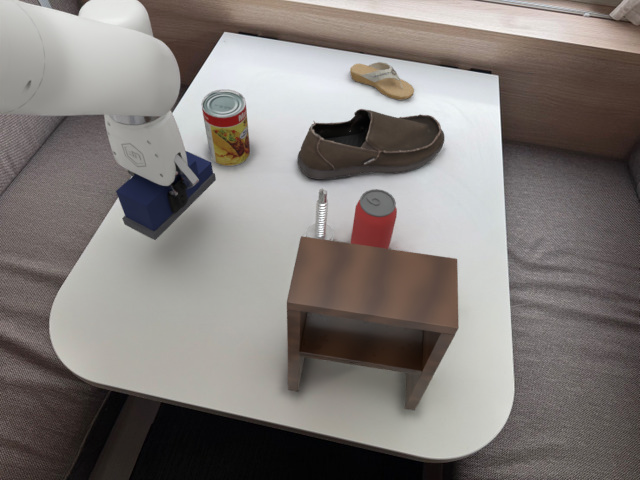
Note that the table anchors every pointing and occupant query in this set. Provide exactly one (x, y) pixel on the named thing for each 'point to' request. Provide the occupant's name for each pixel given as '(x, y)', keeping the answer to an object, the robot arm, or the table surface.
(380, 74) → the sandal
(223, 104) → the canned food
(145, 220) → the blue stepped block
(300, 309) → the shoe stand
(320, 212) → the screw
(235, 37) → the table surface
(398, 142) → the loafer
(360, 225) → the beer can
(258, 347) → the table surface
